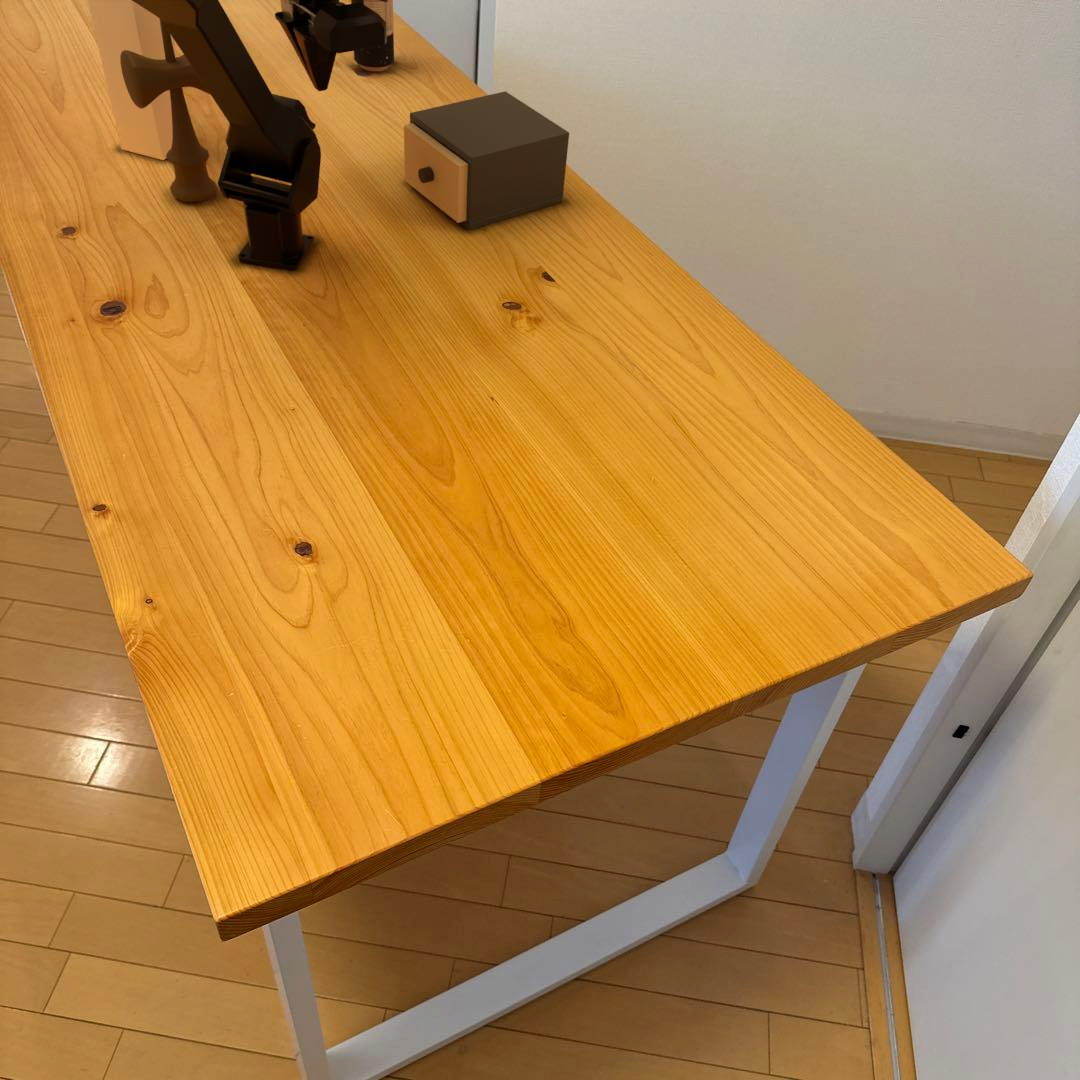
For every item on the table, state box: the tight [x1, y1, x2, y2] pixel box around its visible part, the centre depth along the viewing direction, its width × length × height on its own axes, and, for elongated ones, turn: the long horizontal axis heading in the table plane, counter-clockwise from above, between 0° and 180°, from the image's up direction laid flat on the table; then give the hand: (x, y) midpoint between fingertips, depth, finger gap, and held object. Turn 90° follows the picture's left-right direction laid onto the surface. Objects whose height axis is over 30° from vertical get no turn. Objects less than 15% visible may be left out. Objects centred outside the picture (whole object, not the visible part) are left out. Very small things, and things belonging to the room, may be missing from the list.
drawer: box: [403, 122, 468, 224], centre depth 117 cm, size 14×11×7 cm
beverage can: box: [350, 0, 395, 72], centre depth 141 cm, size 6×6×12 cm
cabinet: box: [409, 91, 570, 231], centre depth 119 cm, size 14×13×9 cm
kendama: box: [120, 20, 218, 203], centre depth 109 cm, size 6×10×20 cm, turn 124°
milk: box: [87, 0, 184, 161], centre depth 115 cm, size 6×6×22 cm
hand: (321, 89), depth 108 cm, fingers closed
